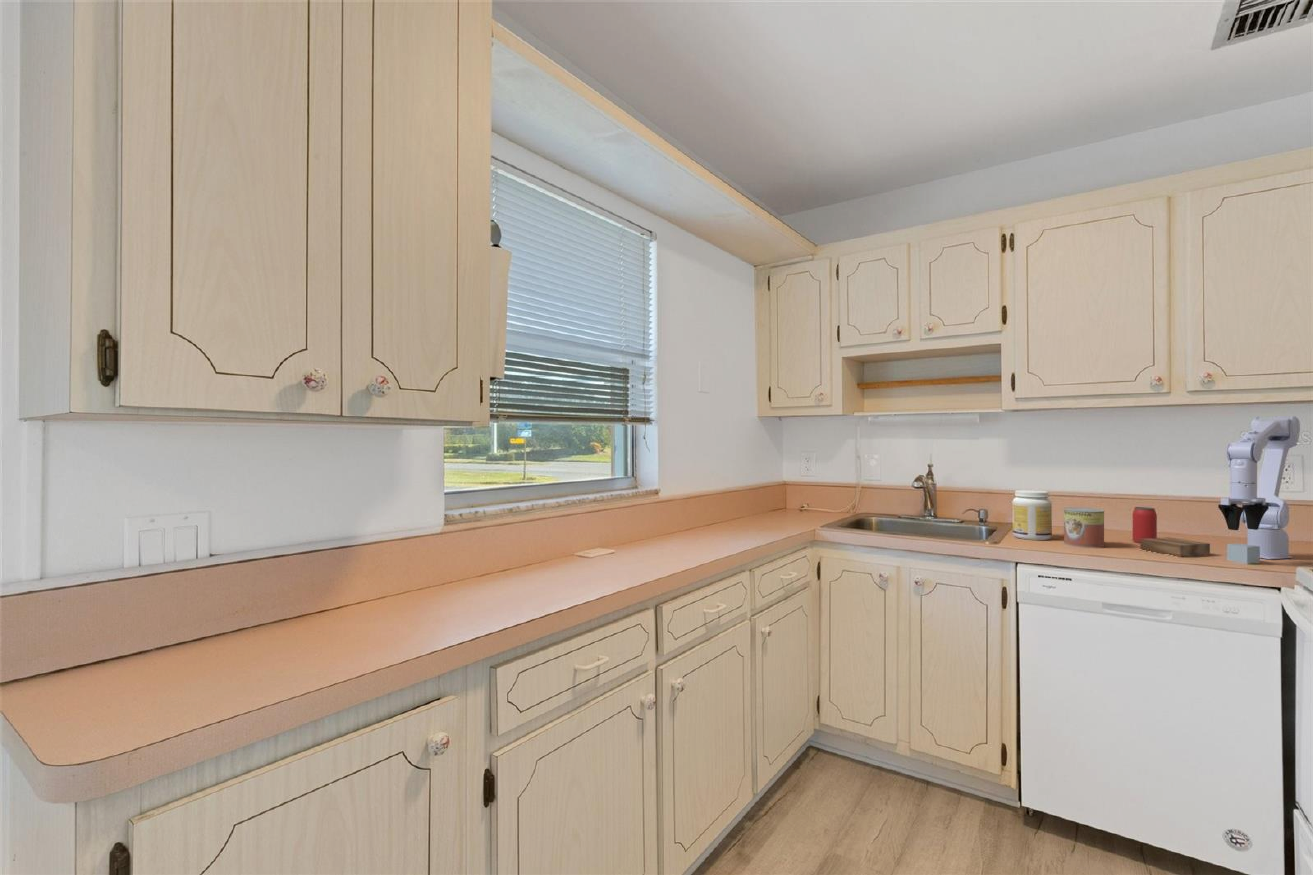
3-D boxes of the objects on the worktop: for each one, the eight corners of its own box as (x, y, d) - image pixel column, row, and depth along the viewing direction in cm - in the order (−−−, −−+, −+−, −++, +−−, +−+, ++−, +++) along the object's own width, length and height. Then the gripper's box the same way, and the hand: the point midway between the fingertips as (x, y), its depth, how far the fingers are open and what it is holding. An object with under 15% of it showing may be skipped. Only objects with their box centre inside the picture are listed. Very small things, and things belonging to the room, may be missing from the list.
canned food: (1056, 543, 210) (1056, 508, 210) (1077, 541, 214) (1077, 507, 214) (1090, 549, 199) (1090, 512, 199) (1112, 546, 204) (1112, 510, 204)
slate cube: (1239, 560, 181) (1239, 543, 181) (1259, 563, 177) (1259, 546, 177) (1227, 561, 180) (1227, 544, 180) (1247, 564, 175) (1247, 547, 175)
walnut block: (1168, 549, 200) (1168, 537, 200) (1209, 556, 189) (1209, 543, 189) (1140, 551, 197) (1140, 539, 197) (1180, 558, 186) (1180, 545, 186)
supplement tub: (1050, 536, 223) (1049, 490, 223) (1053, 541, 213) (1053, 493, 213) (1011, 534, 229) (1011, 489, 229) (1013, 539, 218) (1013, 492, 218)
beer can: (1161, 544, 207) (1161, 509, 207) (1139, 544, 208) (1139, 508, 208) (1149, 541, 213) (1149, 507, 213) (1128, 540, 215) (1128, 506, 215)
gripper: (1240, 484, 173) (1240, 532, 173) (1278, 483, 176) (1278, 531, 176) (1212, 482, 180) (1212, 528, 180) (1249, 482, 183) (1249, 527, 183)
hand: (1243, 529), depth 178 cm, fingers open, 7 cm apart
